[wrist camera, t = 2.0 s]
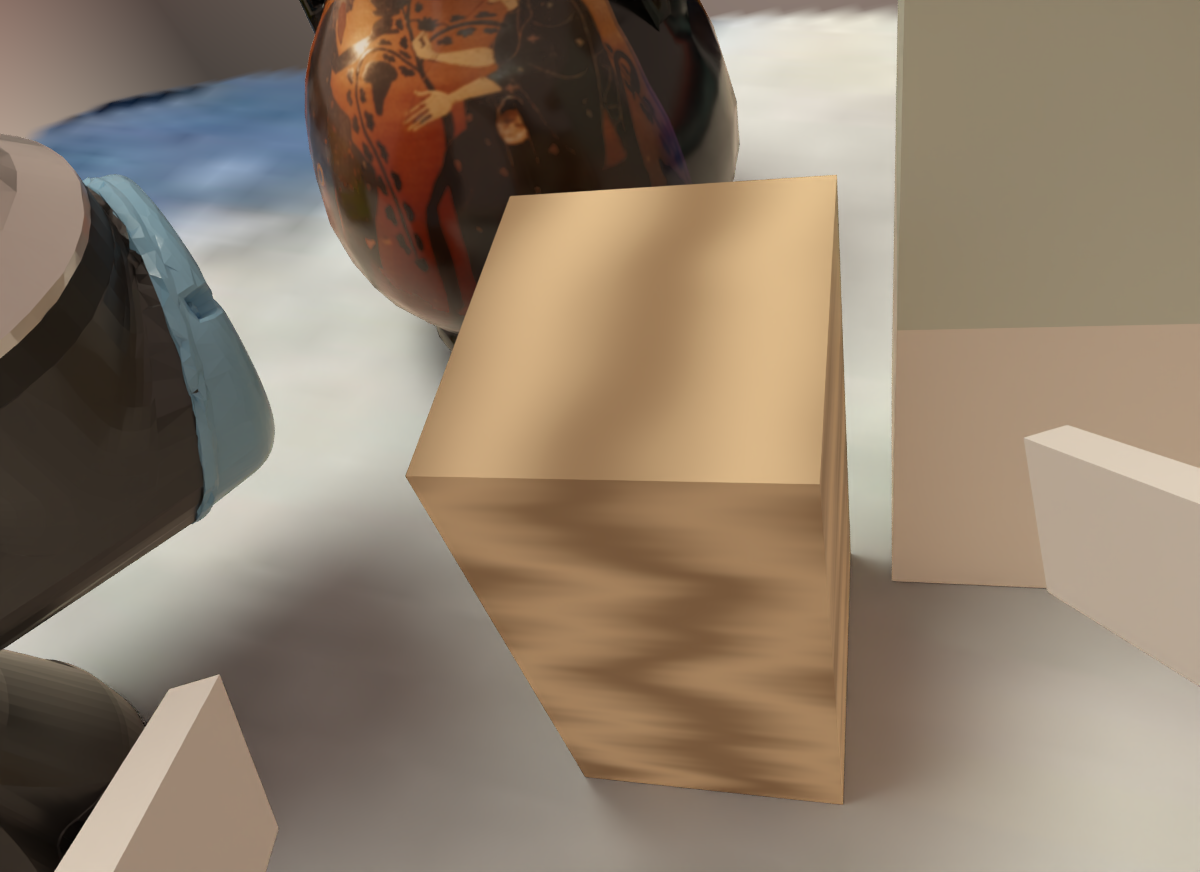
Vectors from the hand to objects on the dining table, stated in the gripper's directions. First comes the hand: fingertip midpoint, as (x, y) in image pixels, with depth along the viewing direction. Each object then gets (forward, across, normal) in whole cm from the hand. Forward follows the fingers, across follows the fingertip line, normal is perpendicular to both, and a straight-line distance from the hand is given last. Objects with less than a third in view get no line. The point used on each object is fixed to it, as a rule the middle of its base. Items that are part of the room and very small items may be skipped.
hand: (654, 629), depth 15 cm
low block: (+23, +4, -13) cm, 27 cm away
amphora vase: (+44, +4, +1) cm, 44 cm away
